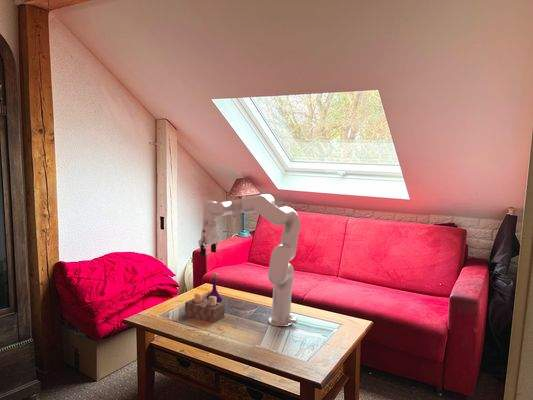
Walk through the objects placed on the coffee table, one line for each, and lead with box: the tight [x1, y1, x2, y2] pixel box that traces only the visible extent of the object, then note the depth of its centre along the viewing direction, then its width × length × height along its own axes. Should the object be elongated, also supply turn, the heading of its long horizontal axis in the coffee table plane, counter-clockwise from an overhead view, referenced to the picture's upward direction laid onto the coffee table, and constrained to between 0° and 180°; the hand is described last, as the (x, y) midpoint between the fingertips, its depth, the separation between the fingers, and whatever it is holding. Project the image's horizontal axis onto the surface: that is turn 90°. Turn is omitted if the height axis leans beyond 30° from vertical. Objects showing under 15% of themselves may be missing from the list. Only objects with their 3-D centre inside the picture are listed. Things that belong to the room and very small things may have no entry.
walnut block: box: [184, 298, 226, 324], centre depth 211 cm, size 18×10×7 cm, turn 64°
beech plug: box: [208, 296, 217, 307], centre depth 208 cm, size 4×4×7 cm
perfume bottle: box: [205, 272, 223, 303], centre depth 229 cm, size 8×8×18 cm
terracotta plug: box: [193, 292, 203, 304], centre depth 212 cm, size 4×4×7 cm
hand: (208, 253), depth 222 cm, fingers open, 9 cm apart
